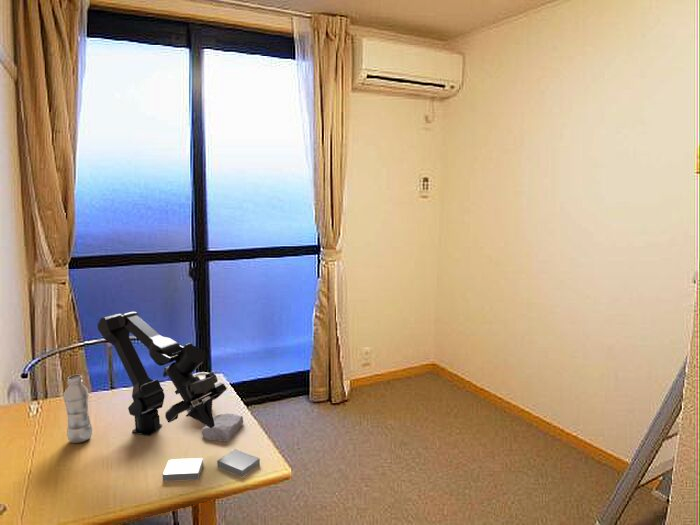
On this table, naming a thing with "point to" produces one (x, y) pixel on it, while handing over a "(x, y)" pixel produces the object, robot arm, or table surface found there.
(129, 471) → the table surface
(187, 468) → the twin tile
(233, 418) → the stone block
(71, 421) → the plastic bottle
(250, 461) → the tile
